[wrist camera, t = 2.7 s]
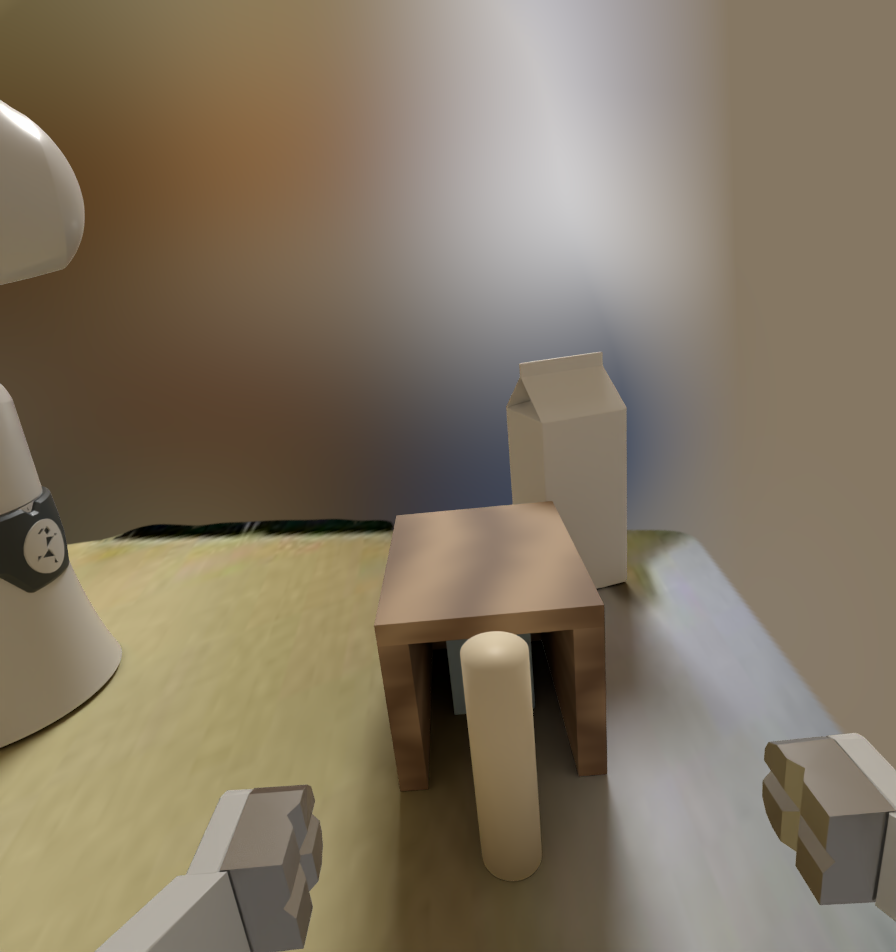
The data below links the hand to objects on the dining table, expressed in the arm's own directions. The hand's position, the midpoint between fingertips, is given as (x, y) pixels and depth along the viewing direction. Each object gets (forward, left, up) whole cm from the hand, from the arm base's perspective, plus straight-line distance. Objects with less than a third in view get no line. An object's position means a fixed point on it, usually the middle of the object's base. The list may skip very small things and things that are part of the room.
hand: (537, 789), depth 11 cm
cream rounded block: (0, +19, -17) cm, 25 cm away
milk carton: (+8, +38, -17) cm, 42 cm away
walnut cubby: (0, +23, -17) cm, 29 cm away
